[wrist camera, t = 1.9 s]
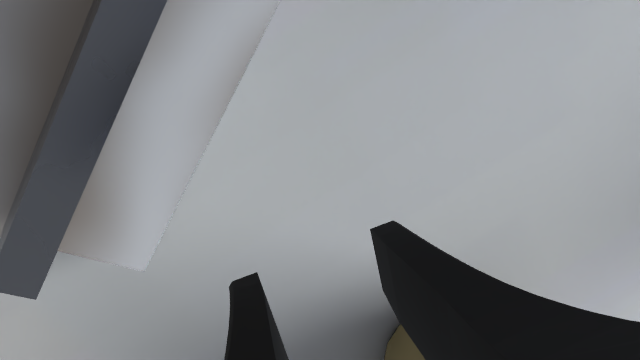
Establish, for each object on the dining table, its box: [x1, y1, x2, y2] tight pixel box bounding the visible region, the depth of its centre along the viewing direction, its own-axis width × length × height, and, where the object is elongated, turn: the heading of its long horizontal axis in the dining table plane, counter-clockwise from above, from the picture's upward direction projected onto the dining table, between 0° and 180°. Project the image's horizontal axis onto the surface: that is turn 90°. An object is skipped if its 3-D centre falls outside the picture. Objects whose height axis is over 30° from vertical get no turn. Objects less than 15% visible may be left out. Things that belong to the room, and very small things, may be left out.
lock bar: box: [0, 0, 167, 300], centre depth 14 cm, size 14×3×4 cm, turn 150°
